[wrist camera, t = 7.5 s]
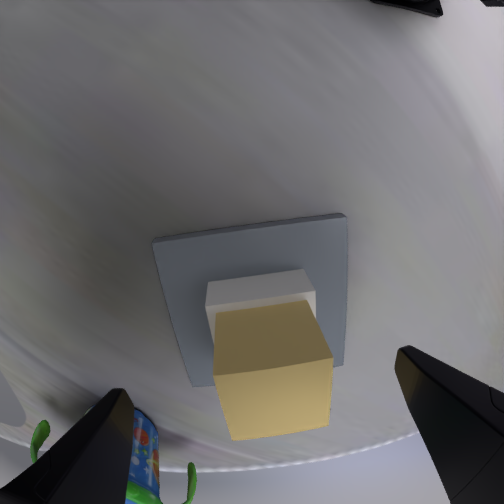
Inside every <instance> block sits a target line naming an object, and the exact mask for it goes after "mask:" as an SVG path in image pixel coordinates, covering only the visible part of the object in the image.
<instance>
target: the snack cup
mask: <svg viewBox="0 0 504 504" xmlns="http://www.w3.org/2000/svg"><path fill="white" fill-rule="evenodd" d="M94 406H95V405H94ZM94 406H92V407H91V408H90V409H88V410H87V411H86V413H87V412H88V411H90V410H91V409H92V408H93V407H94ZM86 413H85V414H86ZM85 414H84V415H85ZM49 433H50V426H49V423H48V421H46V420H42V421H41V422H40V423H39V424H38V426H37V427H36V429H35V432H34V434H33V437H32V441H31V446H30V451H31V458H32V461H33V464H34V463H35V462H36V461H37V452H38V450H39V448H40V447H41V446H42V444H43V442H44V441H45V440H46V438H47V437H48V436H49ZM196 482H197V478H196V469H195V466H194V464H193V463H192V462H190V463H189V464H188V493H187V501H186V502H184V503H183V504H190V503H191V501H192V499H193V496H194V493H195V489H196ZM159 486H160V484H159V454H158V432H157V431H156V429H155V427H154V425H153V424H152V423H151V422H150V420H148V419H147V418H146V417H145V416H144V415H143V414H142V413H141V412H140V411H138V410H135V412H134V430H133V448H132V456H131V463H130V470H129V477H128V484H127V492H126V501H125V504H163V503H162V502H161V500H160V497H159V488H160V487H159Z"/></svg>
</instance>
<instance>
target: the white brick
mask: <svg viewBox="0 0 504 504" xmlns="http://www.w3.org/2000/svg"><path fill="white" fill-rule="evenodd" d="M302 300H307V301H308V303H309V305H310V307H311V310H312V312H313V314H314V316H315V318H316V293H315V289H314V287H313V285H312V284H311V282H310V280H309V278H308V276H307V275H306V273H305V271H304V269H298V270H291V271H284V272H277V273H270V274H263V275H256V276H248V277H241V278H234V279H226V280H219V281H211V282H208V286H207V294H206V303H205V308H206V313H207V317H208V322H209V326H210V330H211V335H212V339H213V343H214V338H215V318H216V313H218V312H226V311H234V310H241V309H249V308H256V307H263V306H270V305H276V304H283V303H289V302H296V301H302Z"/></svg>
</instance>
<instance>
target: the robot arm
mask: <svg viewBox="0 0 504 504" xmlns="http://www.w3.org/2000/svg"><path fill="white" fill-rule="evenodd" d="M370 1H372V2H374V3H379V4H384V5H389V6H394V7H399V8H404V9H408V10H412V11H416V12H420V13H424V14H427V15H431V16H434V17H440V16H442V15H443V11H442V7H441V4H440V0H370ZM481 2H482V3H483V4H484V5H485V6H486V7H504V0H481ZM436 10H437V11H436ZM395 373H396V376H397V378H398V381H399V384H400V387H401V389H402V392H403V395H404V398H405V401H406V403H407V406H408V409H409V411H410V413H411V415H412V417H413V419H414V421H415V423H416V425H417V428H418V430H419V432H420V434H421V436H422V438H423V440H424V443H425V445H426V447H427V449H428V451H429V453H430V455H431V458H432V460H433V462H434V465H435V467H436V469H437V472H438V474H439V476H440V479H441V481H442V483H443V486H444V488H445V491H446V493H447V495H448V498H449V500H450V503H451V504H504V393H503V392H501V391H499V390H497V389H495V388H493V387H489V386H488V385H487V384H485V383H483V382H481V381H479V380H477V379H475V378H473V377H471V376H469V375H467V374H465V373H463V372H461V371H459V370H457V369H455V368H453V367H451V366H449V365H448V364H446V363H444V362H442V361H440V360H438V359H436V358H434V357H432V356H430V355H428V354H426V353H424V352H422V351H420V350H419V349H417V348H415V347H413V346H410V345H408V346H404V347H401V348H399V349H398V351H397V356H396V361H395ZM134 412H135V409H134V405H133V403H132V401H131V399H130V397H129V396H128V394H127V392H126V390H125V389H123V388H114V389H112V390H110V391H109V392H108V393H107V394H106V395H105V396H104V397H103V398H102V399H101V400H100V401H99V402H98V403H97V404H96V405H95V406H94V407H93V408H92V409H91V410H90V411H88V412H87V413H86V414H85V415H84V416H83V417H82V418H81V419H80V420H79V421H78V422H77V423H76V424H75V425H74V426H73V427H72V428H71V429H70V430H69V431H68V432H67V433H65V434H64V435H63V436H62V437H61V438H60V439H59V440H58V441H57V442H56V443H55V444H54V445H53V446H52V447H51V448H50V450H48V451H47V452H46V453H44V454H43V455H42V456H41V457H40V458H39V459H38V460H37V461H36V462H35V463H34V464H32V465H31V466H30V467H29V468H27V469H26V470H25V471H24V472H22V473H21V474H20V475H19V476H17V477H16V478H15V479H13V480H12V481H11V482H9V483H8V484H7V485H5V486H4V487H2V488H1V489H0V504H125V501H126V492H127V484H128V477H129V470H130V463H131V456H132V448H133V430H134Z"/></svg>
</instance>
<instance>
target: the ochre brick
mask: <svg viewBox="0 0 504 504" xmlns="http://www.w3.org/2000/svg"><path fill="white" fill-rule="evenodd" d="M332 375H333V355H332V353H331V351H330V349H329V346H328V344H327V342H326V340H325V338H324V336H323V333H322V331H321V329H320V327H319V325H318V323H317V320H316V318H315V316H314V314H313V312H312V310H311V307H310V305H309V303H308V301H307V300H302V301H296V302H289V303H283V304H276V305H270V306H263V307H256V308H249V309H241V310H234V311H226V312H218V313H216V318H215V338H214V359H213V378H214V382H215V385H216V389H217V392H218V396H219V399H220V402H221V406H222V409H223V412H224V416H225V419H226V422H227V425H228V428H229V432H230V435H231V438H232V441H236V440H246V439H255V438H263V437H270V436H277V435H283V434H289V433H295V432H301V431H306V430H311V429H316V428H321V427H325V426H328V425H329V415H330V403H331V390H332Z"/></svg>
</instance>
